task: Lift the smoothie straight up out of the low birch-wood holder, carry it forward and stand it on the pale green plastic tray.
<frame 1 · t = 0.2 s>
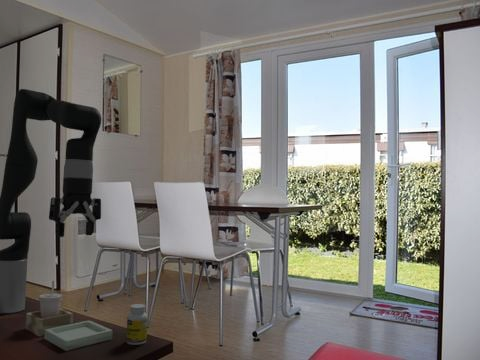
hand: (75, 235, 112), 28 cm above the table, tool pointing down, fingers open, 8 cm apart
supplement bottle: (136, 342, 111), on the table
smoothie: (49, 329, 121), resting in holder
tray: (78, 338, 113), on the table
holder: (49, 328, 121), on the table
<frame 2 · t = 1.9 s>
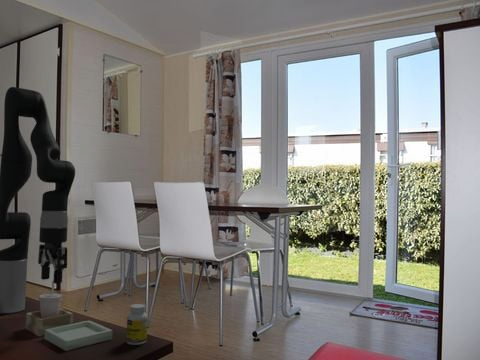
hand: (51, 281, 121), 14 cm above the table, tool pointing down, fingers open, 8 cm apart
nothing on the table moved.
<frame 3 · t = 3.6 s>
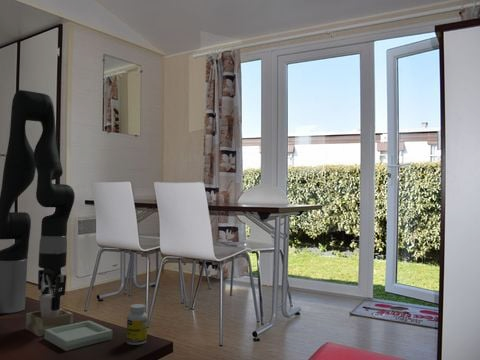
hand: (50, 307, 121), 6 cm above the table, tool pointing down, fingers closed on smoothie, 6 cm apart
smoothie: (49, 329, 121), resting in holder, touching gripper
everything else where it was.
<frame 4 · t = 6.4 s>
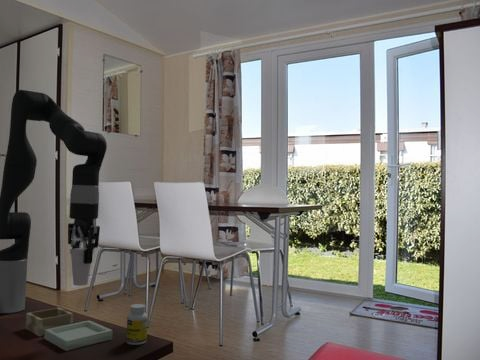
hand: (81, 261, 114), 21 cm above the table, tool pointing down, fingers closed on smoothie, 6 cm apart
smoothie: (80, 284, 114), point 15 cm above the table, touching gripper
everything else where it was.
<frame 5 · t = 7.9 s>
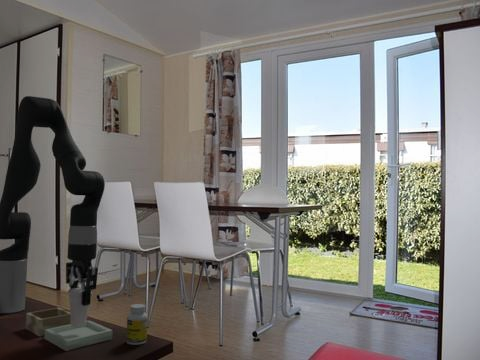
hand: (79, 302, 113), 10 cm above the table, tool pointing down, fingers closed on smoothie, 6 cm apart
smoothie: (78, 325, 113), point 4 cm above the table, touching gripper
everything else where it was.
when the fingers open (9 cm above the table, at t = 9.1 s): smoothie drops 1 cm, resting on tray.
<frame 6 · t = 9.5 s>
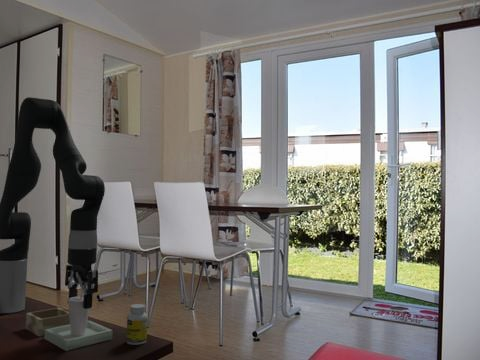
hand: (79, 305, 113), 9 cm above the table, tool pointing down, fingers open, 8 cm apart
smoothie: (77, 334, 113), point 1 cm above the table, touching tray
everything else where it was.
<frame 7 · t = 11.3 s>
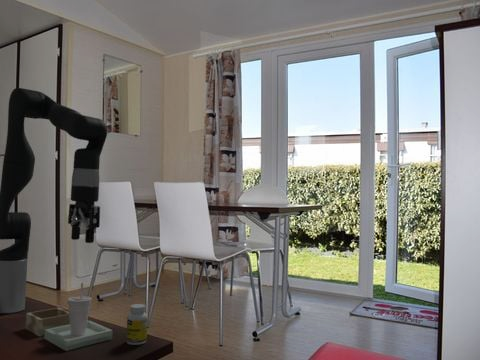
hand: (82, 241, 118), 26 cm above the table, tool pointing down, fingers open, 8 cm apart
nothing on the table moved.
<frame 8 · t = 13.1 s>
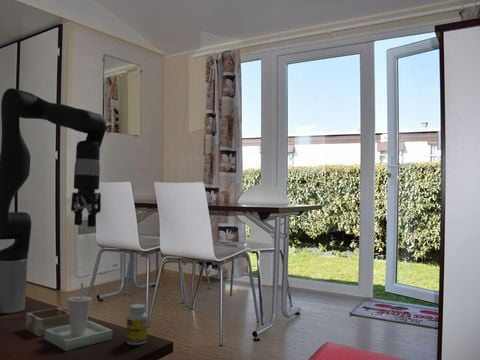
hand: (84, 225, 128), 30 cm above the table, tool pointing down, fingers open, 8 cm apart
nothing on the table moved.
at the end: smoothie inside the target area on the tray (0.3 cm from its centre), point 1.0 cm above the tray's base; smoothie tilted 0°; the gripper is holding nothing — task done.
